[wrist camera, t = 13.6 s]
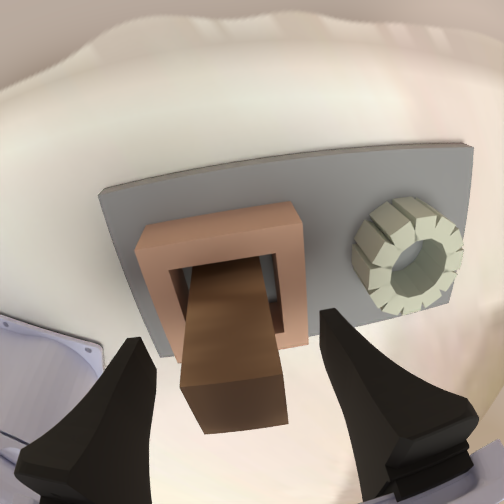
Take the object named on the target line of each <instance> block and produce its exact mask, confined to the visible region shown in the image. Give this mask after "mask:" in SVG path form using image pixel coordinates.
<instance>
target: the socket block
mask: <svg viewBox="0 0 504 504" xmlns="http://www.w3.org/2000/svg"><path fill="white" fill-rule="evenodd" d="M473 153H474V147H472V146H469V145H467V144H464V143H437V144H407V145H387V146H372V147H358V148H346V149H335V150H325V151H315V152H306V153H298V154H289V155H281V156H274V157H267V158H259V159H253V160H246V161H240V162H233V163H227V164H221V165H215V166H209V167H204V168H198V169H193V170H188V171H182V172H177V173H172V174H167V175H163V176H158V177H153V178H148V179H144V180H139V181H135V182H131V183H126V184H122V185H118V186H114V187H110V188H106V189H104V190H103V191H102V192H101V193H100V194H99V195H98V198H99V201H100V204H101V208H102V211H103V214H104V217H105V220H106V223H107V226H108V229H109V232H110V235H111V238H112V241H113V244H114V247H115V249H116V252H117V255H118V258H119V260H120V263H121V266H122V269H123V271H124V274H125V276H126V279H127V282H128V284H129V287H130V289H131V292H132V294H133V297H134V299H135V302H136V304H137V306H138V309H139V311H140V314H141V316H142V318H143V321H144V323H145V325H146V327H147V330H148V332H149V334H150V336H151V339H152V341H153V343H154V345H155V347H156V350H157V352H158V354H159V356H160V358H161V357H171V356H175V358H176V360H177V362H178V363H182V354H183V344H184V334H185V325H186V316H187V307H188V299H189V290H190V282H191V275H192V267H193V266H198V265H204V264H210V263H217V262H223V261H229V260H235V259H242V258H248V257H254V256H259V259H260V264H261V269H262V274H263V279H264V283H265V288H266V293H267V298H268V303H269V308H270V313H271V318H272V323H273V327H274V332H275V337H276V342H277V347H278V350H280V349H286V348H292V347H297V346H303V345H308V344H309V343H308V337H310V336H315V335H320V316H319V310H324V309H329V308H336V309H337V310H338V311H339V312H340V313H341V314H342V316H343V317H344V318H345V319H346V320H347V321H348V322H349V323H350V324H351V325H352V326H353V327H358V326H362V325H367V324H371V323H375V322H379V321H383V320H387V319H392V318H395V317H399V316H403V315H407V314H411V313H415V312H418V311H422V310H426V309H429V308H433V307H436V306H440V305H443V304H447V303H449V300H450V296H451V292H452V288H453V284H454V280H455V278H456V276H457V275H458V274H457V273H456V271H457V270H458V269H460V266H461V262H462V257H463V252H464V250H463V249H462V246H463V245H464V244H463V237H464V231H465V225H466V219H467V212H468V205H469V197H470V188H471V178H472V167H473Z"/></svg>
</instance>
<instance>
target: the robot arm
mask: <svg viewBox="0 0 504 504" xmlns="http://www.w3.org/2000/svg"><path fill="white" fill-rule="evenodd" d="M319 316H320V350H321V354H322V358H323V361H324V365H325V368H326V371H327V374H328V376H329V379H330V381H331V384H332V386H333V389H334V391H335V394H336V396H337V399H338V401H339V404H340V406H341V409H342V412H343V414H344V417H345V421H346V424H347V428H348V432H349V436H350V440H351V444H352V448H353V453H354V457H355V461H356V466H357V471H358V476H359V481H360V487H361V492H362V499H363V502H362V503H359V504H498V503H500V502H502V501H503V500H504V447H503V445H502V443H501V441H500V440H499V439H496V440H495V441H493V442H491V443H490V444H488V445H486V446H484V447H482V448H481V449H479V450H477V451H476V452H474V453H473V454H471V455H470V456H469V453H468V451H467V450H468V449H469V444H468V442H467V440H466V439H467V438H468V437H469V435H470V434H471V433H472V432H473V430H474V429H475V428H476V426H477V424H478V422H479V417H478V415H477V413H476V411H475V409H474V408H473V406H472V405H471V403H470V402H469V401H468V399H467V398H465V397H462V396H459V395H456V394H453V393H451V392H448V391H445V390H443V389H441V388H438V387H436V386H434V385H432V384H430V383H428V382H426V381H424V380H422V379H420V378H418V377H417V376H415V375H413V374H411V373H410V372H408V371H406V370H405V369H403V368H402V367H400V366H399V365H397V364H396V363H394V362H393V361H392V360H390V359H389V358H388V357H386V356H385V355H384V354H383V353H381V352H380V351H379V350H378V349H377V348H375V347H374V346H373V345H372V344H371V343H370V342H369V341H368V340H366V339H365V338H364V337H363V336H362V335H361V334H360V333H359V332H358V331H357V330H356V329H355V328H354V327H353V326H352V325H351V324H350V323H349V322H348V321H347V320H346V319H345V318H344V317H343V316H342V314H341V313H340V312H339V311H338V310H337V309H336V308H329V309H324V310H319ZM89 348H90V349H89ZM156 378H157V369H156V367H155V365H154V363H153V361H152V359H151V357H150V355H149V353H148V351H147V349H146V347H145V345H144V343H143V341H142V339H141V337H134V338H127V339H126V341H125V342H124V343H123V345H122V346H121V348H120V349H119V351H118V352H117V353H116V355H115V356H114V358H113V359H112V361H111V362H110V364H109V365H108V366H107V368H106V369H105V371H104V365H103V349H102V347H101V346H100V345H98V344H96V343H92V342H88V341H84V340H80V339H77V338H73V337H70V336H66V335H63V334H59V333H56V332H52V331H49V330H46V329H43V328H39V327H36V326H33V325H30V324H27V323H24V322H21V321H18V320H15V319H12V318H9V317H7V316H4V315H1V314H0V504H152V500H151V490H150V477H149V438H150V430H151V423H152V416H153V409H154V402H155V396H156Z"/></svg>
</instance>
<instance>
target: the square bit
mask: <svg viewBox="0 0 504 504" xmlns="http://www.w3.org/2000/svg"><path fill="white" fill-rule="evenodd" d="M180 389H181V391H182V393H183V395H184V397H185V399H186V401H187V403H188V405H189V407H190V409H191V410H192V412H193V414H194V416H195V418H196V420H197V422H198V423H199V425H200V427H201V429H202V431H203V432H204V434H216V433H226V432H236V431H244V430H252V429H259V428H266V427H273V426H279V425H285V424H289V423H288V414H287V405H286V397H285V388H284V379H283V372H282V367H281V362H280V357H279V352H278V347H277V342H276V337H275V332H274V327H273V323H272V318H271V313H270V308H269V303H268V298H267V293H266V288H265V283H264V279H263V274H262V269H261V264H260V259H259V256H254V257H248V258H242V259H235V260H229V261H223V262H217V263H210V264H204V265H198V266H193V267H192V275H191V282H190V290H189V299H188V307H187V316H186V325H185V334H184V344H183V354H182V365H181V376H180Z"/></svg>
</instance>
